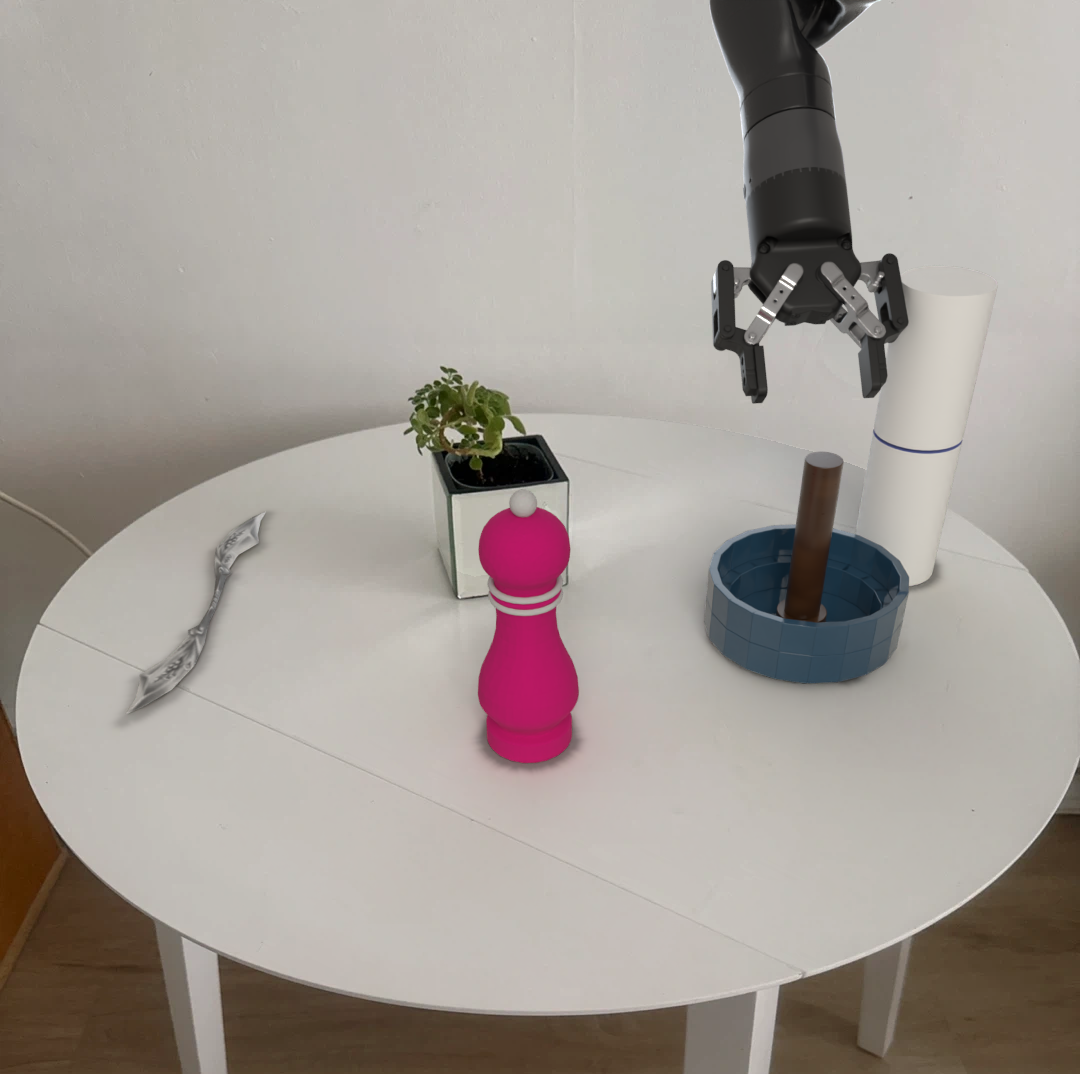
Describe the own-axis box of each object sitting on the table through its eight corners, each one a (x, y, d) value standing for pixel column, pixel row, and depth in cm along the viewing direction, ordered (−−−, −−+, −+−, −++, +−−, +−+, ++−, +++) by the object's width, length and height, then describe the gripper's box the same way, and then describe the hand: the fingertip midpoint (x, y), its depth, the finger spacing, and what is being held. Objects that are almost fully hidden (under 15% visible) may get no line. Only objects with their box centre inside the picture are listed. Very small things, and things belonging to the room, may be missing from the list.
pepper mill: (530, 694, 89) (524, 454, 77) (598, 736, 85) (604, 490, 73) (460, 737, 85) (441, 491, 73) (528, 782, 81) (521, 531, 69)
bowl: (897, 597, 99) (910, 536, 95) (892, 704, 88) (907, 639, 84) (718, 575, 102) (724, 515, 99) (690, 675, 91) (696, 611, 87)
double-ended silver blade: (120, 717, 88) (184, 718, 87) (118, 711, 87) (183, 711, 87) (223, 513, 113) (273, 513, 112) (222, 507, 112) (272, 507, 112)
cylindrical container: (852, 583, 101) (903, 294, 85) (848, 542, 107) (896, 263, 91) (936, 589, 100) (1004, 298, 84) (928, 548, 106) (991, 267, 90)
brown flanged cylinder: (826, 616, 96) (853, 450, 86) (822, 643, 93) (850, 474, 83) (777, 610, 97) (799, 445, 87) (772, 636, 94) (794, 468, 84)
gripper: (712, 167, 84) (733, 381, 82) (904, 159, 85) (929, 371, 83) (693, 223, 91) (712, 420, 90) (870, 215, 92) (892, 411, 90)
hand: (816, 397), depth 86 cm, fingers open, 8 cm apart
